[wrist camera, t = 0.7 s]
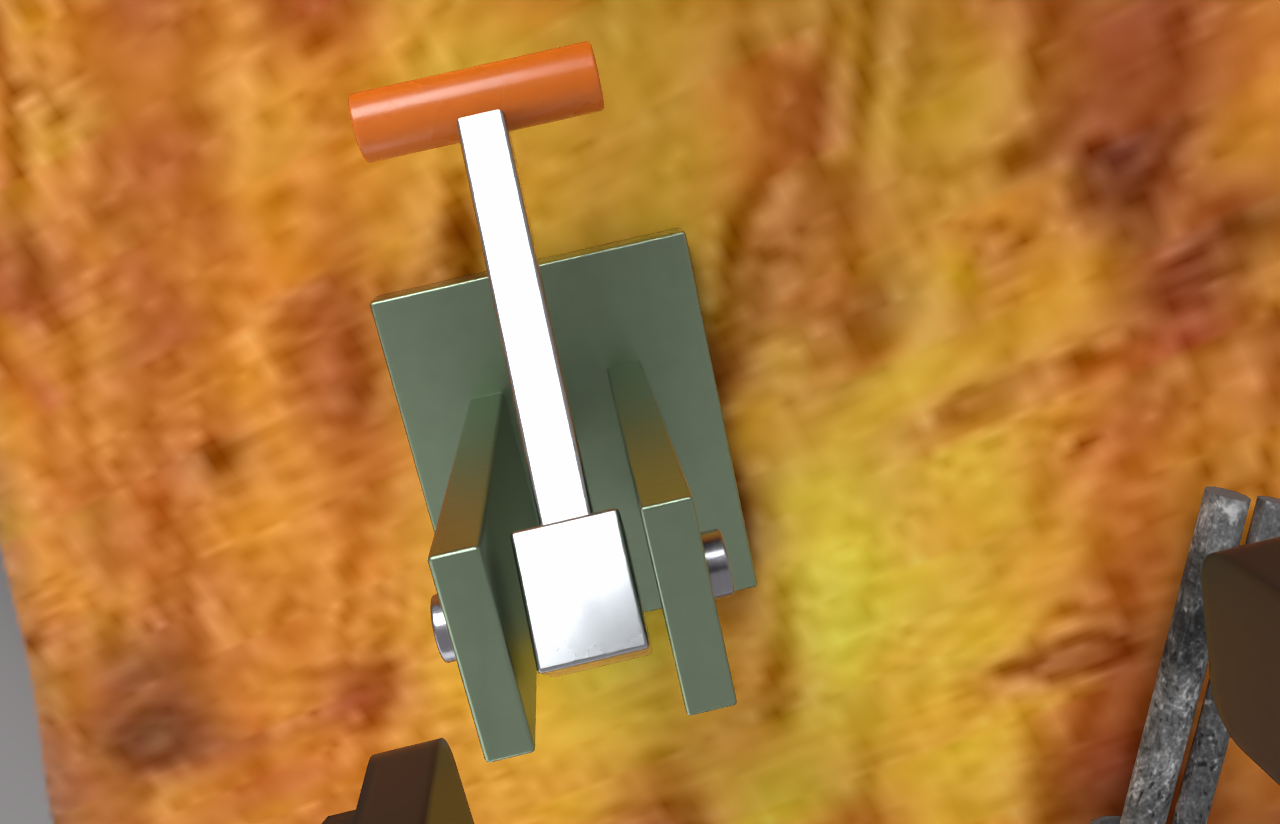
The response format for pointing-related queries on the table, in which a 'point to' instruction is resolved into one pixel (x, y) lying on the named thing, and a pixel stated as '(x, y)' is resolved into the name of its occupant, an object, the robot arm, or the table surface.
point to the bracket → (611, 453)
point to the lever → (527, 339)
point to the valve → (1190, 679)
